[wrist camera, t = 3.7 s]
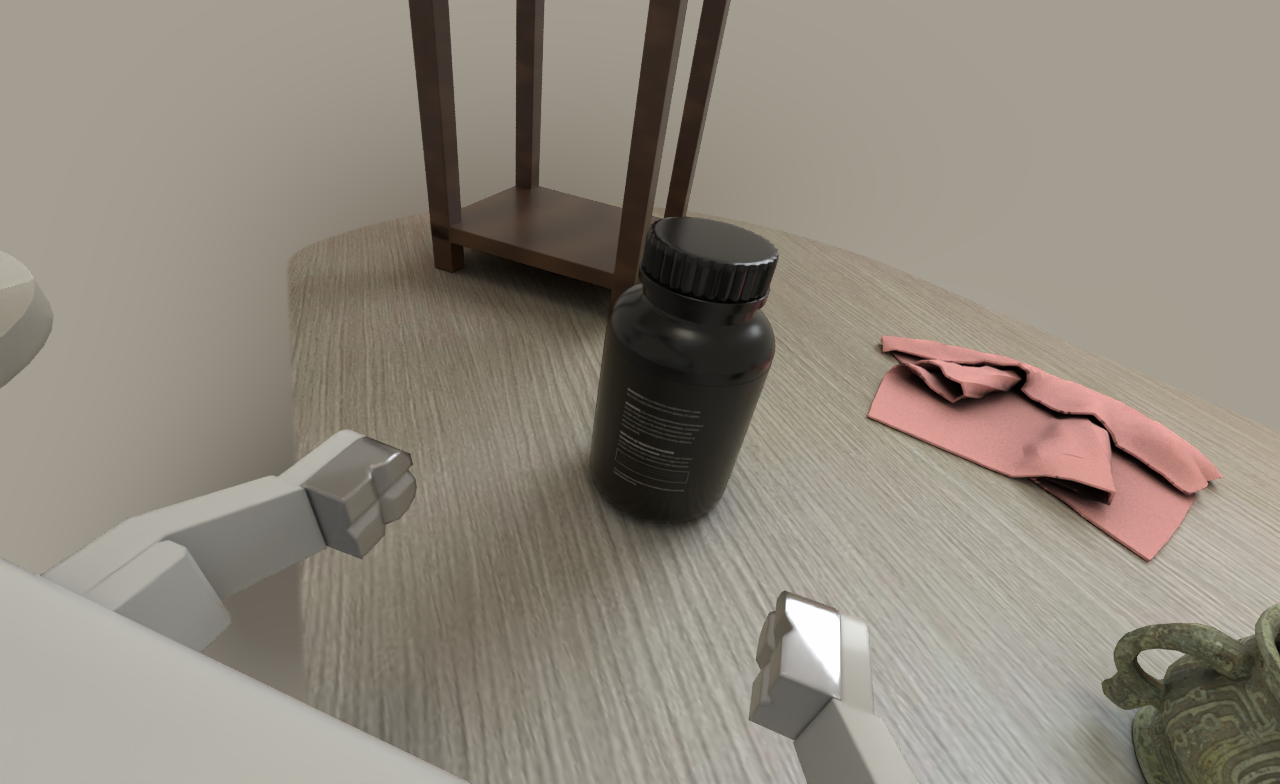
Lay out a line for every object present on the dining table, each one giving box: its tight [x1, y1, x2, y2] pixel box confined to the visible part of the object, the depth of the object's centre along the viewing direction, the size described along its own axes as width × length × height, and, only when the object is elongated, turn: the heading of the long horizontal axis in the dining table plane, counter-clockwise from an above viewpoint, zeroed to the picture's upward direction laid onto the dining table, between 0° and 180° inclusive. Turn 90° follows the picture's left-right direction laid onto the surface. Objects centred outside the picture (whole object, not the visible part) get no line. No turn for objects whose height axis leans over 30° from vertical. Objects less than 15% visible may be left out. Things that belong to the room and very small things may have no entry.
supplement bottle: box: [590, 217, 779, 523], centre depth 21 cm, size 7×7×12 cm
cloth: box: [867, 336, 1223, 561], centre depth 33 cm, size 20×22×2 cm
